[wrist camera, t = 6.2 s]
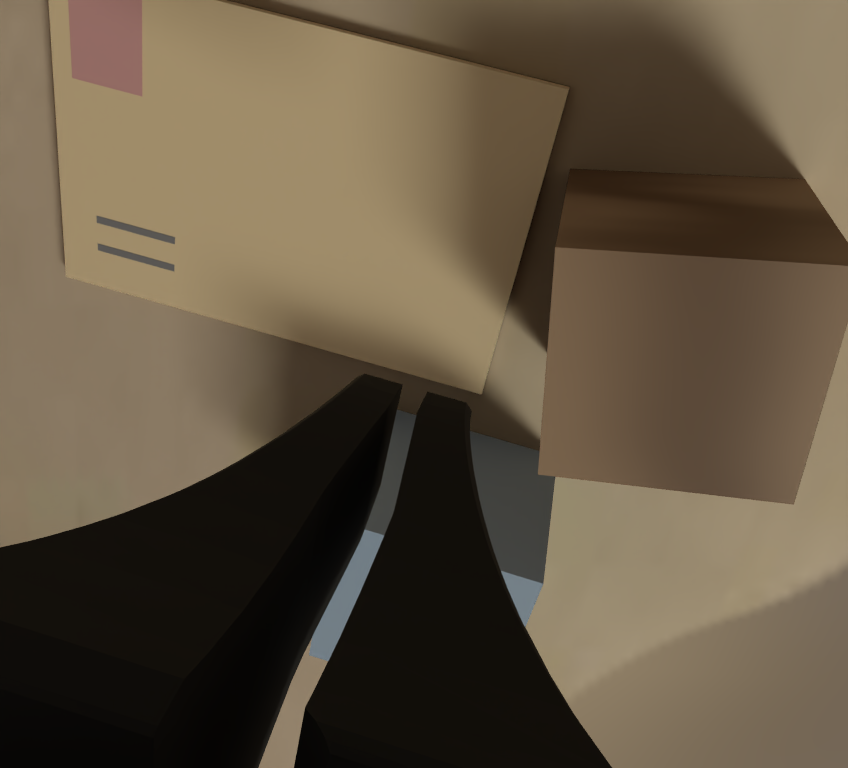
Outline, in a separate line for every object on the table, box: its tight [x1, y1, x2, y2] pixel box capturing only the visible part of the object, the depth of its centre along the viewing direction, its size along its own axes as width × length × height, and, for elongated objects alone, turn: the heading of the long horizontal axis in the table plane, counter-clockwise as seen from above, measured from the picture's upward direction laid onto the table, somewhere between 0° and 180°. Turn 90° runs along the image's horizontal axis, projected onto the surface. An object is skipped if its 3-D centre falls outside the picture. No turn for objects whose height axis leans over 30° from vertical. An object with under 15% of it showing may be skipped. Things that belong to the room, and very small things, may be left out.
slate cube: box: [309, 410, 555, 661], centre depth 21 cm, size 5×5×5 cm
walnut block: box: [538, 169, 848, 504], centre depth 17 cm, size 5×5×5 cm
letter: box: [48, 0, 570, 395], centre depth 19 cm, size 12×8×1 cm, turn 79°
